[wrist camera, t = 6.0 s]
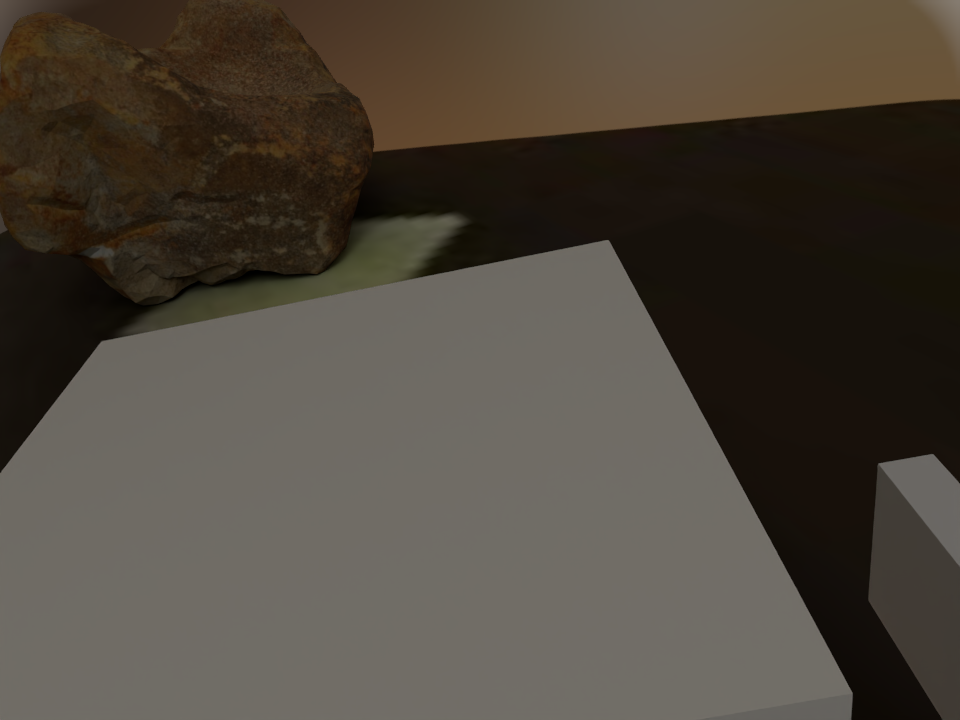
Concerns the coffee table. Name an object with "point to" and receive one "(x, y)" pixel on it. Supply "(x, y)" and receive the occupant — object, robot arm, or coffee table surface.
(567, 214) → the coffee table surface
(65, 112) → the rough brown rock
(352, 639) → the white box
